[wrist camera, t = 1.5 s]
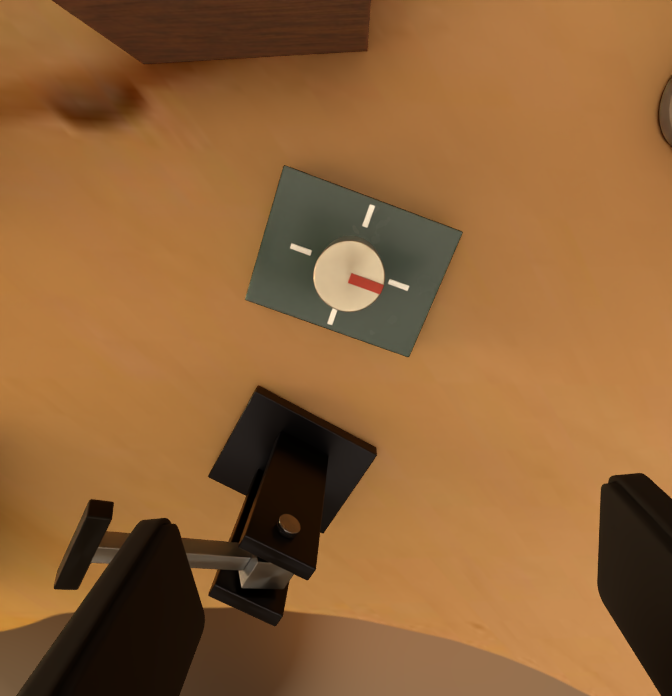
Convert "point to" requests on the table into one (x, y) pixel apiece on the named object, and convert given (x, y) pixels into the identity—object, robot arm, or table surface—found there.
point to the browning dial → (349, 274)
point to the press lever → (253, 571)
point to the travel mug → (666, 112)
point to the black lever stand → (284, 492)
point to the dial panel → (338, 221)
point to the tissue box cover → (226, 27)
